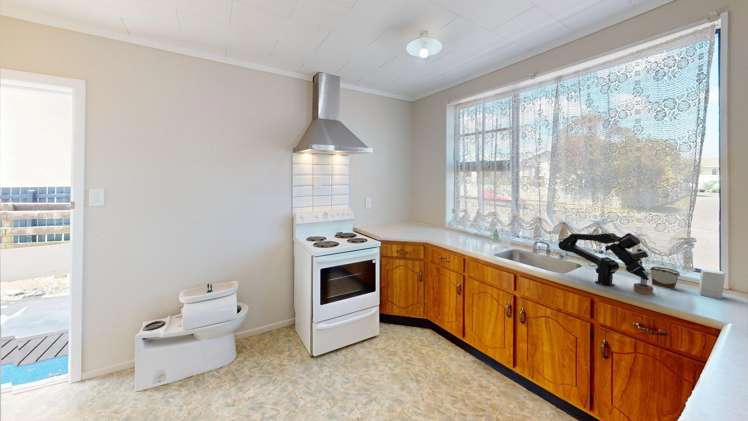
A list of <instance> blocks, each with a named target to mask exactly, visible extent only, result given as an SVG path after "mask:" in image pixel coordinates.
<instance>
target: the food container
mask: <svg viewBox="0 0 748 421" xmlns="http://www.w3.org/2000/svg"><path fill="white" fill-rule="evenodd" d="M649 271H650V272H651V274H650V275H651V286H652V285H653V286H656V287H660V288H663V289H669V290H672V291H675V289H676V286H677V282H678V278H679V277H681V274H680V270H676V269H673V268H669V267H661V266H651V267H650V268H649Z"/></svg>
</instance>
